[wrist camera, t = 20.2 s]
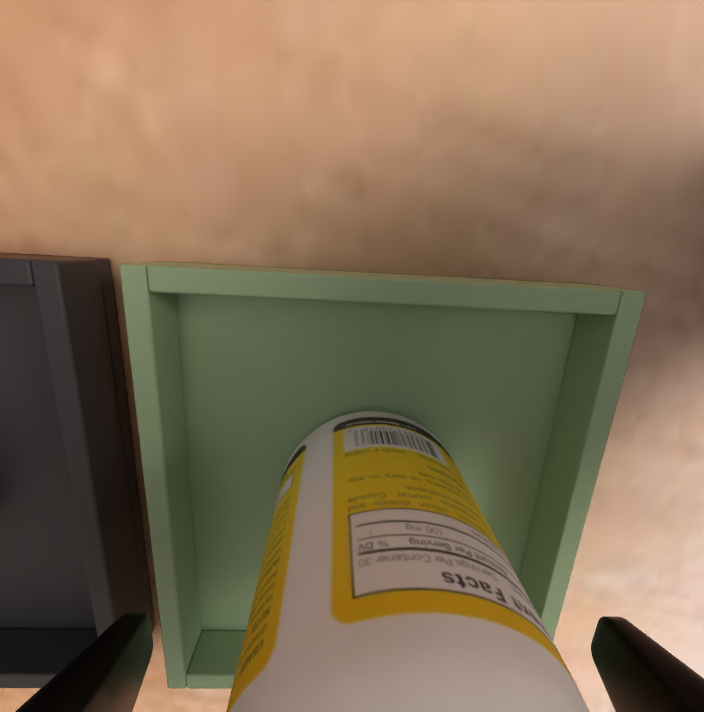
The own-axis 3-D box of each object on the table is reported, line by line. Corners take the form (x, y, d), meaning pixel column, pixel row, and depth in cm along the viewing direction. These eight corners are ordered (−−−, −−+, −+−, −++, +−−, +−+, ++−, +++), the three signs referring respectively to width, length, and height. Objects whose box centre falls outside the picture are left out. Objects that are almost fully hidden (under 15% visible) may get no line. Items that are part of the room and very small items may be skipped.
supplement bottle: (340, 578, 13) (339, 1516, 3) (249, 459, 11) (-200, 1491, 2) (483, 508, 12) (983, 1421, 3) (405, 372, 11) (874, 1270, 1)
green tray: (592, 284, 11) (647, 291, 9) (513, 631, 14) (540, 690, 12) (159, 261, 10) (117, 263, 8) (191, 628, 14) (166, 689, 12)
